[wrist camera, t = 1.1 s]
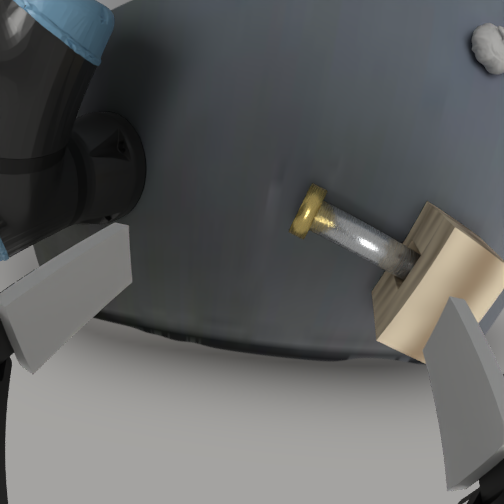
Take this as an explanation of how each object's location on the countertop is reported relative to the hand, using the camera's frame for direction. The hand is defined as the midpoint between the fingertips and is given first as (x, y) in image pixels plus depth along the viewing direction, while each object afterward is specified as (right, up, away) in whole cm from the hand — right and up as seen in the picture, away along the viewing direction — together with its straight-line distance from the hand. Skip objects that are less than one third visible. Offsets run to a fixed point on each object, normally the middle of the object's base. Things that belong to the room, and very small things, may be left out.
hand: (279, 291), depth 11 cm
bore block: (+18, 0, +18) cm, 26 cm away
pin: (+10, +3, +18) cm, 21 cm away
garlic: (+23, +23, +8) cm, 33 cm away
